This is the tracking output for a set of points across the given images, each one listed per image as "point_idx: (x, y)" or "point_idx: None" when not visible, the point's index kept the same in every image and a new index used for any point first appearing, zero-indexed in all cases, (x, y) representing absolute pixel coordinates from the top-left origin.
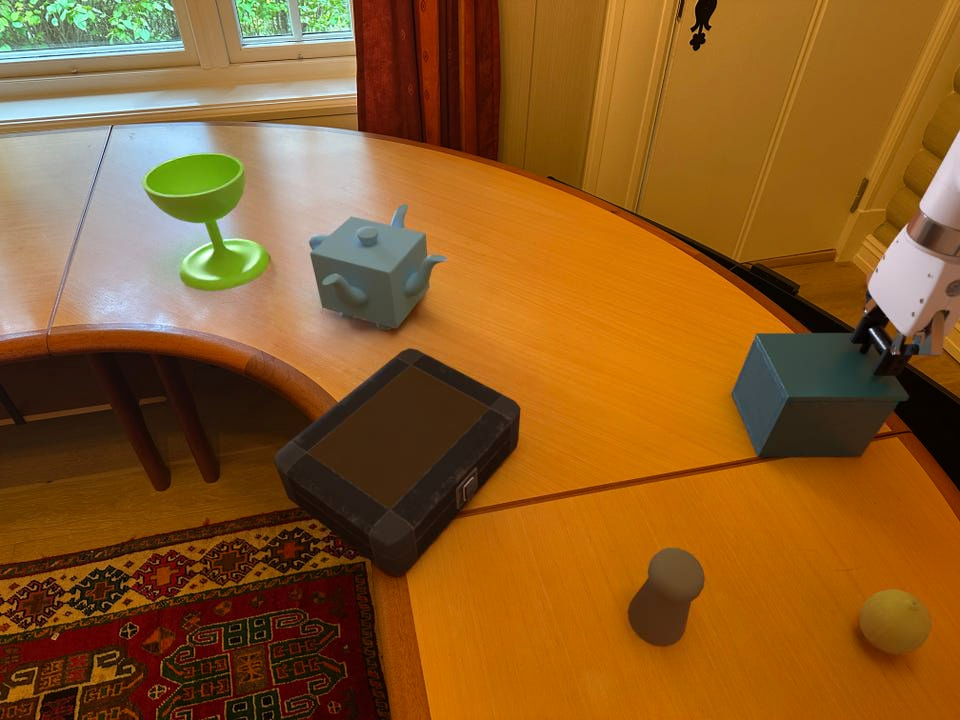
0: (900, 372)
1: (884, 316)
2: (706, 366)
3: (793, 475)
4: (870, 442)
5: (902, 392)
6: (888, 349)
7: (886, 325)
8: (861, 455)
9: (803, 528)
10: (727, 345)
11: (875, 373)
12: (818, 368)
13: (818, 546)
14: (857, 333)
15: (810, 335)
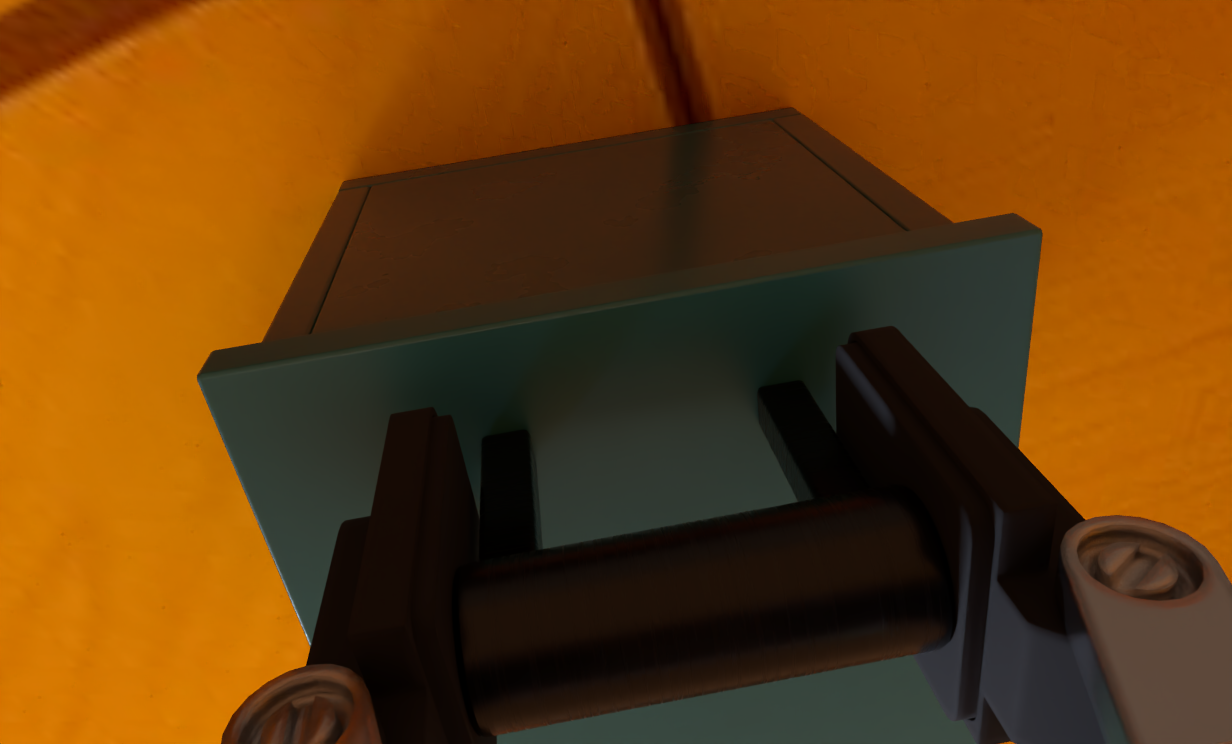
0: (902, 339)
1: (427, 739)
2: (302, 658)
3: None
4: (833, 137)
5: (994, 271)
6: (994, 728)
7: (432, 566)
8: (795, 109)
9: (1118, 415)
10: (99, 581)
11: None
12: (740, 727)
13: (1192, 381)
14: None
15: None
